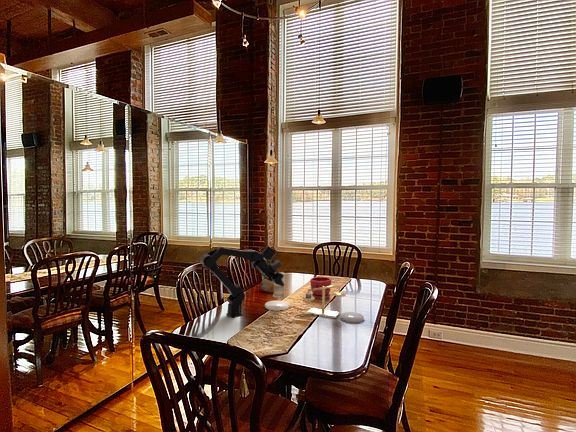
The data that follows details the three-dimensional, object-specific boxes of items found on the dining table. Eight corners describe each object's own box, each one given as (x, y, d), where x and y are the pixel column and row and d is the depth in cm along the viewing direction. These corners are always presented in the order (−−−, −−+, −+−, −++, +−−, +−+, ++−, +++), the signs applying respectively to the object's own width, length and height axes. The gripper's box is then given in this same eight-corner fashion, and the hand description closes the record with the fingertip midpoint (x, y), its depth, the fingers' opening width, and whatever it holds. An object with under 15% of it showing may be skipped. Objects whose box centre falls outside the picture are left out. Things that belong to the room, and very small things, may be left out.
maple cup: (282, 298, 196) (283, 275, 196) (271, 297, 198) (271, 274, 198) (286, 295, 203) (286, 272, 202) (275, 293, 205) (275, 271, 204)
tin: (260, 290, 236) (260, 278, 236) (263, 289, 239) (263, 277, 239) (280, 293, 229) (280, 280, 229) (282, 292, 232) (282, 279, 232)
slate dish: (355, 324, 176) (355, 321, 176) (335, 318, 185) (335, 315, 185) (368, 318, 185) (368, 316, 185) (349, 313, 193) (349, 310, 193)
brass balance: (300, 312, 193) (300, 281, 192) (304, 308, 199) (305, 279, 198) (343, 319, 183) (344, 287, 182) (346, 315, 190) (347, 284, 188)
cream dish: (276, 312, 193) (276, 310, 193) (260, 306, 203) (260, 304, 202) (294, 307, 203) (294, 304, 202) (277, 301, 212) (277, 299, 212)
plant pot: (330, 294, 228) (330, 276, 227) (331, 300, 215) (331, 281, 214) (310, 293, 229) (310, 275, 229) (309, 299, 216) (310, 280, 216)
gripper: (280, 259, 189) (298, 277, 195) (266, 253, 206) (282, 270, 212) (267, 274, 186) (285, 292, 192) (253, 267, 202) (270, 284, 208)
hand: (281, 284), depth 201 cm, fingers closed on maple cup, 6 cm apart
